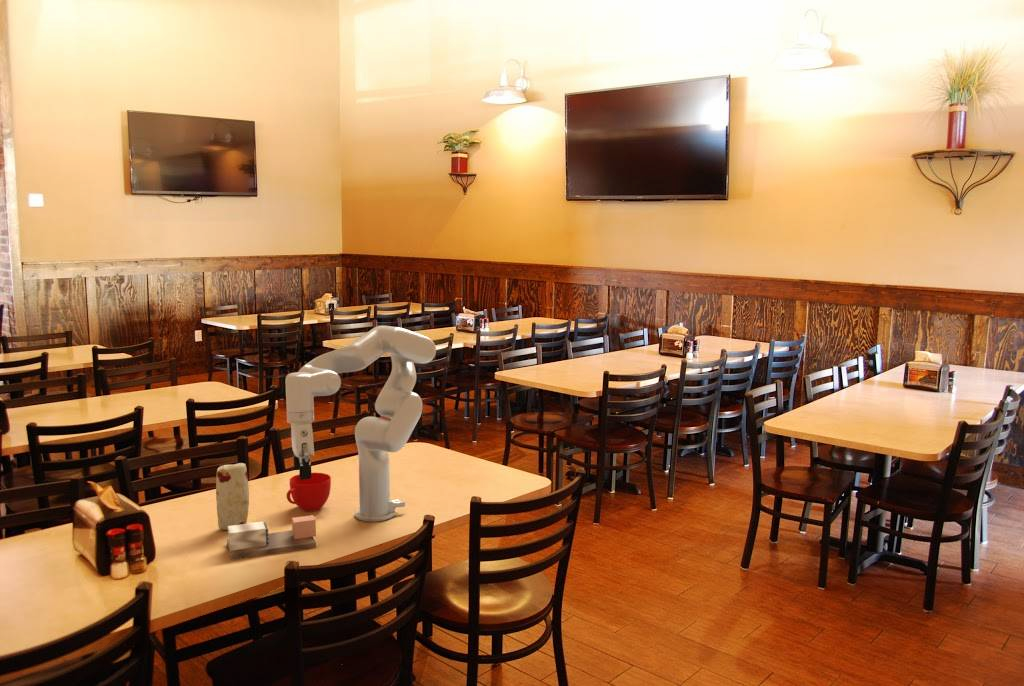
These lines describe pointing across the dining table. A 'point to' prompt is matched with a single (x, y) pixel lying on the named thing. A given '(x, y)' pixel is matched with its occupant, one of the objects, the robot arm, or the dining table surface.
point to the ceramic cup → (310, 491)
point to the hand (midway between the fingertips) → (302, 474)
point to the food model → (232, 495)
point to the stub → (304, 527)
